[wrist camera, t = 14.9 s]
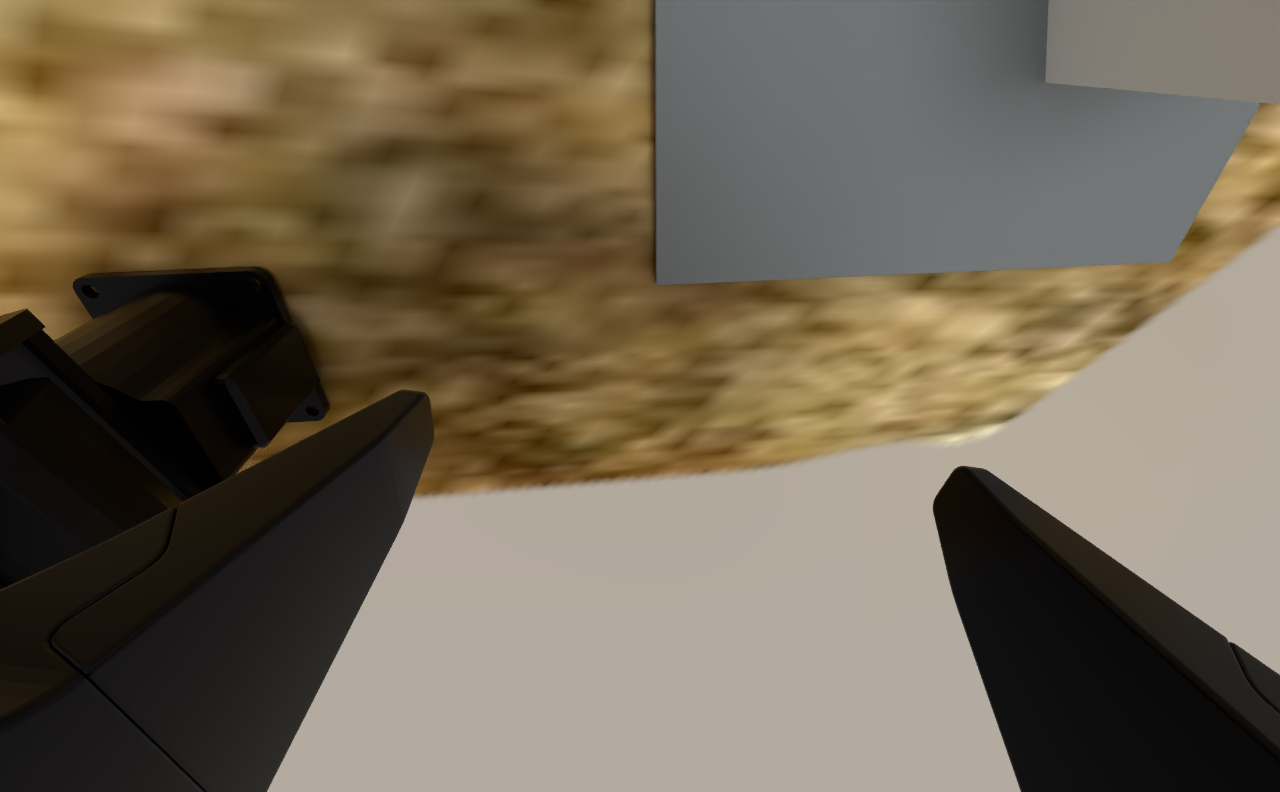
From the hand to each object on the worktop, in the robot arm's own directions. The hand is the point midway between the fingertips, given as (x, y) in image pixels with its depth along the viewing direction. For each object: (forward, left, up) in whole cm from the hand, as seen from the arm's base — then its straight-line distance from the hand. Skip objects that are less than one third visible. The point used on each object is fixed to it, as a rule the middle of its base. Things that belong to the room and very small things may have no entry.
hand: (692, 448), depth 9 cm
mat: (+10, +5, -12) cm, 17 cm away
